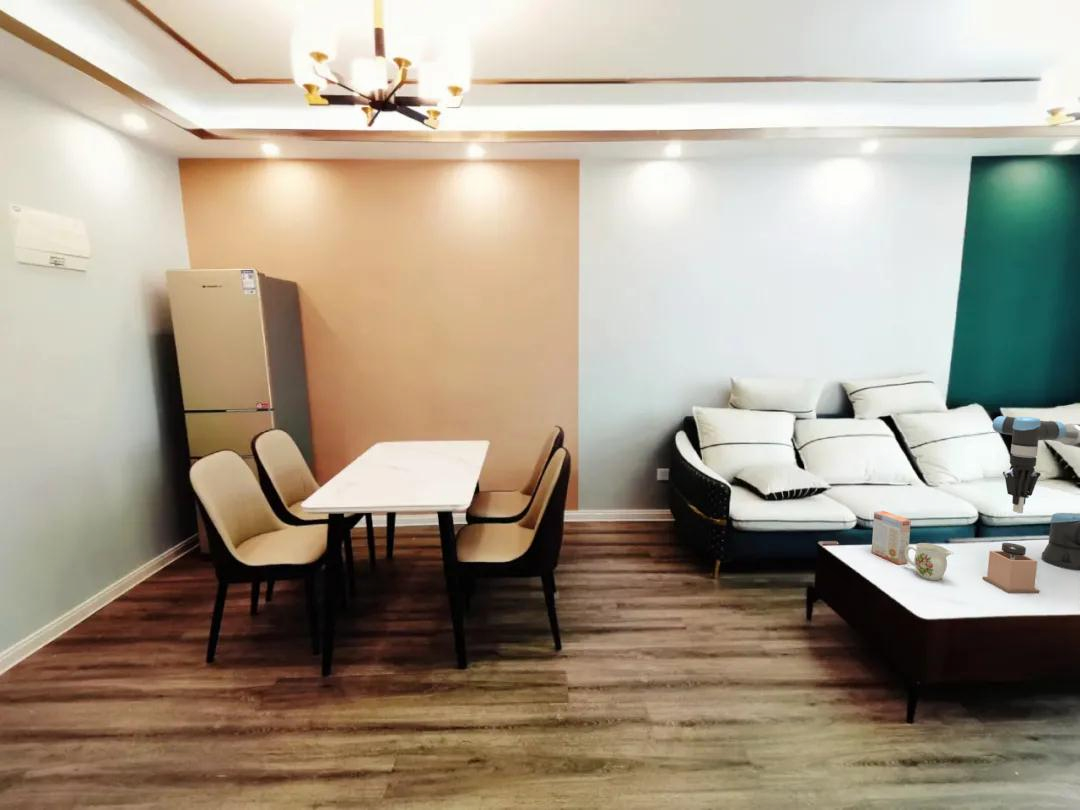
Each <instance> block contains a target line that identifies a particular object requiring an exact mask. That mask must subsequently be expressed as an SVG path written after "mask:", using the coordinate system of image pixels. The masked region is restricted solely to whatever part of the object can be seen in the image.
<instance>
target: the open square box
mask: <svg viewBox="0 0 1080 810" xmlns="http://www.w3.org/2000/svg"><path fill="white" fill-rule="evenodd" d="M1010 556H1011V554H1010V553H1006V552H1004V551H1002V550H989V555H988V564H987V574H986V576H982V580H983V581H985V582H986V583H989V584H990V585H992V586H994V587H995V588H997V589H998V590H999V589H1000V590H1001V591H1003V592H1005V593H1007V594H1040V590H1039V589H1036V588H1035V586H1036V577H1037V569H1038V560H1036V559H1034V558H1031V557H1029V556H1027V555H1026V554H1025V555H1015V560H1010Z"/></svg>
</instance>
